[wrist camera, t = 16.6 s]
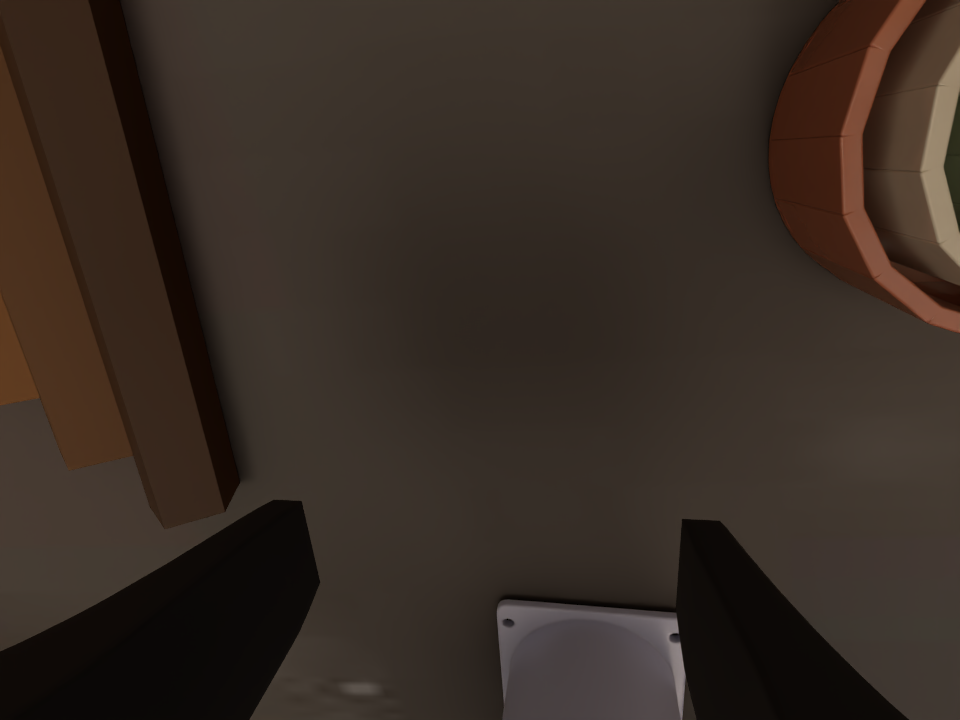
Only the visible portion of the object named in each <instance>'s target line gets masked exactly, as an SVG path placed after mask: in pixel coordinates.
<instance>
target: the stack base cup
mask: <svg viewBox="0 0 960 720" xmlns="http://www.w3.org/2000/svg"><path fill="white" fill-rule="evenodd" d="M926 1H927V0H840V1H839V2H838V4H837V5H836V6H835V7H834V8H833V9H832V10H831V11H830V12H829V14H828V15H827V16H826V17H825V18H824V20H823V21H822V22H821V23H820V24H819V26H818V27H817V28H816V30H815V31H814V33H813V34H812V35H811V37H810V38H809V40H808V41H807V42H806V44H805V45H804V47H803V49H802V50H801V52H800V54H799V56H798V57H797V59H796V61H795V63H794V65H793V66H792V68H791V70H790V72H789V75H788V77H787V79H786V82H785V84H784V86H783V89H782V91H781V93H780V96H779V100H778V103H777V106H776V110H775V113H774V116H773V122H772V128H771V134H770V140H769V173H770V183H771V187H772V191H773V195H774V199H775V203H776V206H777V208H778V211H779V213H780V215H781V218H782V220H783V222H784V224H785V226H786V227H787V229H788V230H789V232H790V234H791V235H792V237H793V238H794V240H795V241H796V242H797V243H798V244H799V246H800V247H801V248H802V249H803V250H804V251H805V252H806V253H807V254H808V255H809V256H810V257H811V258H812V259H814V260H815V261H816V262H817V263H818V264H819V265H821V266H822V267H824V268H826V269H827V270H829V271H830V272H831V273H832V274H834V275H835V276H836V277H837V278H839V279H840V280H842V281H844V282H846V283H848V284H850V285H852V286H854V287H856V288H858V289H860V290H862V291H864V292H866V293H868V294H870V295H872V296H874V297H876V298H878V299H880V300H882V301H884V302H886V303H888V304H890V305H892V306H894V307H896V308H898V309H900V310H902V311H904V312H906V313H908V314H910V315H912V316H914V317H916V318H918V319H920V320H922V321H924V322H926V323H928V324H930V325H934V326H937V327H940V328H943V329H946V330H950V331H953V332H956V333H959V334H960V286H959V285H956V284H953V283H950V282H948V281H945V280H942V279H939V278H936V277H934V276H931V275H928V274H925V273H922V272H920V271H917V270H914V269H911V268H908V267H906V266H903V265H900V264H897V263H894V262H892V261H890V260H889V258H888V256H887V254H886V252H885V250H884V248H883V245H882V243H881V241H880V239H879V237H878V235H877V233H876V231H875V228H874V226H873V224H872V222H871V220H870V218H869V216H868V214H867V212H866V209H865V207H864V170H863V132H864V129H865V126H866V123H867V120H868V117H869V114H870V111H871V108H872V105H873V102H874V99H875V96H876V93H877V90H878V87H879V84H880V81H881V78H882V75H883V72H884V69H885V67H886V64H887V61H888V58H889V55H890V52H891V50H892V49H893V48H894V46H895V45H896V43H897V42H898V40H899V39H900V38H901V36H902V35H903V33H904V32H905V30H906V29H907V28H908V26H909V25H910V23H911V22H912V20H913V19H914V18H915V16H916V15H917V13H918V12H919V11H920V9H921V8H922V6H923V5H924V3H925V2H926Z"/></svg>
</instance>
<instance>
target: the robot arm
mask: <svg viewBox="0 0 960 720" xmlns="http://www.w3.org/2000/svg"><path fill="white" fill-rule="evenodd" d="M319 584H320V580H319V575H318V571H317V566H316V562H315V558H314V553H313V549H312V545H311V540H310V536H309V531H308V527H307V523H306V518H305V514H304V510H303V505H302V501H289V500H273V501H271V502H269V503H267V504H265V505H263V506H261V507H259V508H258V509H256V510H254V511H252V512H251V513H249V514H247V515H246V516H244V517H242V518H241V519H239V520H237V521H236V522H234V523H232V524H231V525H229V526H227V527H226V528H224V529H223V530H221V531H219V532H218V533H216V534H215V535H213V536H211V537H210V538H208V539H206V540H205V541H203V542H202V543H200V544H198V545H197V546H195V547H193V548H192V549H190V550H189V551H187V552H185V553H184V554H182V555H180V556H179V557H177V558H176V559H174V560H172V561H171V562H169V563H167V564H166V565H164V566H162V567H161V568H159V569H157V570H155V571H154V572H152V573H150V574H148V575H147V576H145V577H143V578H142V579H140V580H138V581H136V582H135V583H133V584H131V585H129V586H128V587H126V588H124V589H122V590H121V591H119V592H117V593H116V594H114V595H112V596H110V597H109V598H107V599H105V600H103V601H101V602H100V603H98V604H96V605H94V606H92V607H90V608H88V609H86V610H85V611H83V612H81V613H79V614H77V615H75V616H73V617H71V618H69V619H67V620H65V621H63V622H61V623H59V624H57V625H55V626H53V627H51V628H49V629H47V630H45V631H43V632H41V633H39V634H37V635H35V636H33V637H31V638H29V639H27V640H25V641H23V642H20V643H18V644H16V645H14V646H12V647H9V648H7V649H5V650H3V651H0V720H249V719H250V717H251V716H252V714H253V712H254V710H255V709H256V707H257V705H258V704H259V702H260V700H261V698H262V697H263V695H264V693H265V692H266V690H267V688H268V686H269V685H270V683H271V681H272V679H273V678H274V676H275V674H276V673H277V671H278V669H279V667H280V666H281V664H282V662H283V660H284V659H285V657H286V655H287V653H288V651H289V650H290V648H291V646H292V644H293V643H294V641H295V639H296V637H297V635H298V634H299V632H300V629H301V627H302V625H303V623H304V620H305V618H306V616H307V613H308V611H309V609H310V606H311V604H312V601H313V599H314V596H315V594H316V591H317V589H318V586H319ZM506 619H511V620H512V621H509V620H506ZM497 624H498V637H499V649H500V661H501V673H502V685H503V698H504V711H503V718H502V720H682V716H683V703H684V691H685V678H686V679H687V683H688V687H689V691H690V695H691V699H692V703H693V707H694V711H695V715H696V719H697V720H909V719H908V718H906V717H905V716H904V715H903V714H902V713H901V712H900V711H898V710H897V709H896V708H895V707H894V706H893V705H892V704H890V703H889V702H888V701H887V700H886V699H885V698H884V697H883V696H882V695H881V694H880V693H879V692H878V691H877V690H875V689H874V688H873V687H872V686H871V685H870V684H869V683H868V682H867V681H866V680H865V679H864V678H863V677H862V676H861V675H860V674H859V673H858V672H857V671H856V670H855V669H854V668H853V667H852V666H851V665H850V664H849V663H848V662H847V661H846V660H845V659H844V658H843V657H842V656H841V655H840V654H839V653H838V652H837V651H836V650H835V649H834V648H833V647H832V646H831V645H830V644H829V643H828V642H827V641H826V640H825V639H824V638H823V637H822V636H821V635H820V634H819V633H818V632H817V631H816V630H815V629H814V628H813V627H812V626H811V625H810V624H809V622H808V621H807V620H806V619H805V618H804V617H803V616H802V615H801V614H800V613H799V612H798V610H797V609H796V608H795V607H794V606H793V605H792V604H791V603H790V602H789V601H788V600H787V599H786V597H785V596H784V595H783V594H782V593H781V592H780V591H779V590H778V589H777V587H776V586H775V585H774V584H773V583H772V582H771V581H770V579H769V578H768V577H767V576H766V575H765V574H764V572H763V571H762V570H761V569H760V568H759V567H758V565H757V564H756V563H755V562H754V561H753V560H752V558H751V557H750V556H749V555H748V554H747V552H746V551H745V550H744V549H743V547H742V546H741V545H740V544H739V543H738V541H737V540H736V539H735V538H734V536H733V535H732V534H731V533H730V532H729V530H728V529H727V528H726V527H725V526H724V525H723V524H722V523H721V522H720V521H712V520H691V519H682V528H681V542H680V557H679V571H678V586H677V600H676V613H672V612H660V611H647V610H635V609H622V608H610V607H597V606H585V605H572V604H560V603H547V602H535V601H522V600H510V599H507V600H502V601H500V602H499V604H498V607H497ZM673 633H678V635H672V634H673Z"/></svg>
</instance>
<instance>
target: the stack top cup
mask: <svg viewBox="0 0 960 720" xmlns="http://www.w3.org/2000/svg"><path fill="white" fill-rule="evenodd" d="M959 91H960V0H927V1H926V2H925V3H924V5H923V6H922V8H921V9H920V11H919V12H918V13H917V15H916V16H915V18H914V19H913V20H912V22H911V23H910V25H909V26H908V28H907V29H906V30H905V32H904V33H903V35H902V36H901V38H900V39H899V40H898V42H897V43H896V45H895V46H894V48H893V49H892V50H891V52H890V55H889V58H888V61H887V64H886V67H885V69H884V72H883V75H882V78H881V81H880V84H879V87H878V90H877V93H876V96H875V99H874V102H873V105H872V108H871V111H870V114H869V117H868V120H867V123H866V126H865V129H864V132H863V170H864V207H865V209H866V212H867V214H868V216H869V218H870V220H871V222H872V224H873V226H874V228H875V231H876V233H877V235H878V237H879V239H880V241H881V243H882V245H883V248H884V250H885V252H886V254H887V256H888V258H889V260H890V261H892V262H894V263H897V264H900V265H903V266H906V267H908V268H911V269H914V270H917V271H920V272H922V273H925V274H928V275H931V276H934V277H936V278H939V279H942V280H945V281H948V282H950V283H953V284H956V285H959V286H960V232H959V228H958V224H957V220H956V216H955V212H954V207H953V203H952V199H951V195H950V191H949V187H948V183H947V179H946V175H945V171H944V162H945V157H946V153H947V148H948V143H949V139H950V134H951V129H952V124H953V120H954V115H955V110H956V106H957V101H958V96H959Z"/></svg>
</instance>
